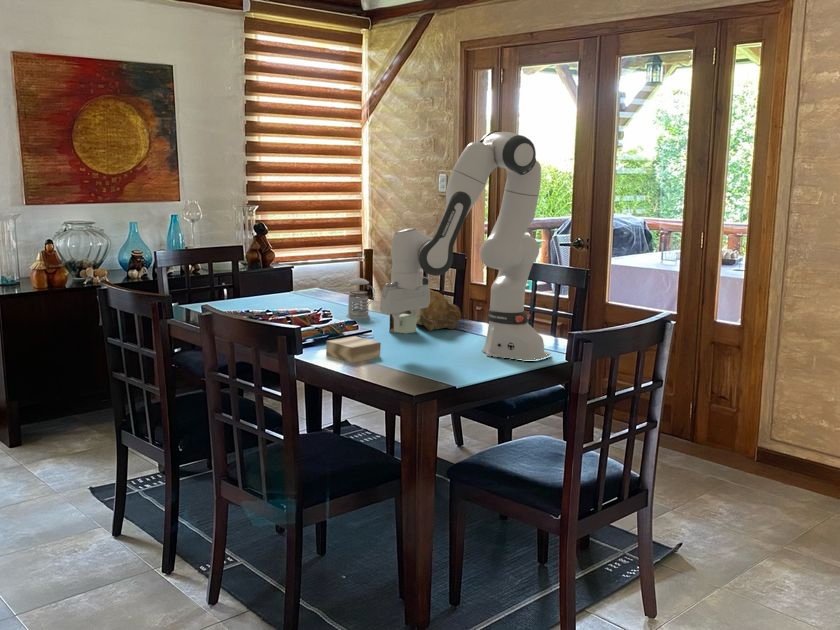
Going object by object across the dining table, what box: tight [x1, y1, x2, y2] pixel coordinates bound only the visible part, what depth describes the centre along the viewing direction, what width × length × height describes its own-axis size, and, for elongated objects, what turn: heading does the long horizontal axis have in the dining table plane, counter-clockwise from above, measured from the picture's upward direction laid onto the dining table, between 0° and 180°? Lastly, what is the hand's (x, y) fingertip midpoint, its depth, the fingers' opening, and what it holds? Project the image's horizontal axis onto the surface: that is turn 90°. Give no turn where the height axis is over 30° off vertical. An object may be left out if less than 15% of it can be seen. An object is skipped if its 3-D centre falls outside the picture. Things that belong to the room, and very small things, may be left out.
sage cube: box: [394, 314, 417, 334], centre depth 258 cm, size 5×5×5 cm
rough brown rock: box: [416, 288, 462, 331], centre depth 308 cm, size 23×17×15 cm
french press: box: [345, 253, 376, 320], centre depth 323 cm, size 10×12×25 cm
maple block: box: [325, 335, 381, 363], centre depth 259 cm, size 12×12×5 cm
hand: (405, 324), depth 258 cm, fingers closed on sage cube, 5 cm apart
